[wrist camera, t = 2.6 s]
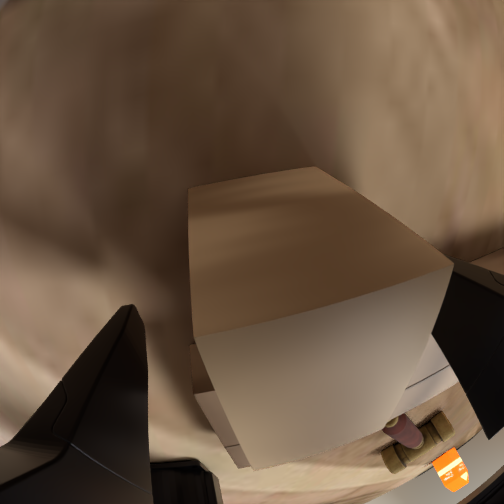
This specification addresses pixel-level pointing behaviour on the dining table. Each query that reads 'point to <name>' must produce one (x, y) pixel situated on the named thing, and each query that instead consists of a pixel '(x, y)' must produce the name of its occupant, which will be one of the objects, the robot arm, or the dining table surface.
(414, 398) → the plank
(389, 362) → the block
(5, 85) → the dining table surface
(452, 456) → the orange juice
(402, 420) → the gavel
